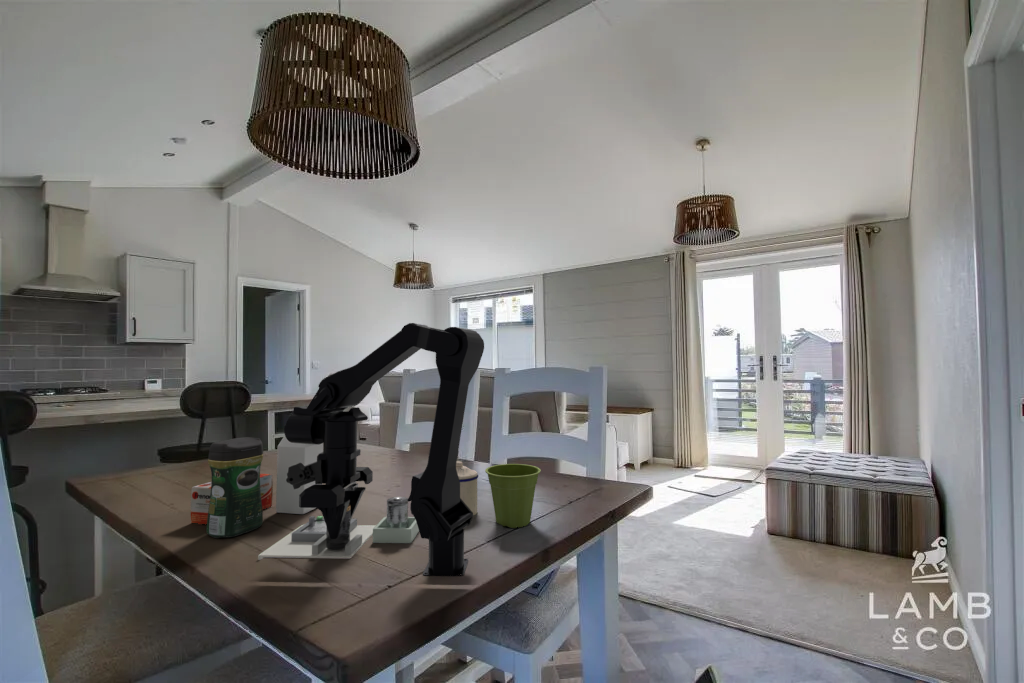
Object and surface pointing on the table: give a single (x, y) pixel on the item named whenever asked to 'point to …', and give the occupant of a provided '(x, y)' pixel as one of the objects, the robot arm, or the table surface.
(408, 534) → the cup
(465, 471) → the teacup with lid
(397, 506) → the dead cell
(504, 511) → the plant pot
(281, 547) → the white square base board
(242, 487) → the coffee jar
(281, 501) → the milk carton
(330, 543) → the cell
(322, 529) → the cradle
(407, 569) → the table surface
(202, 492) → the medicine box
